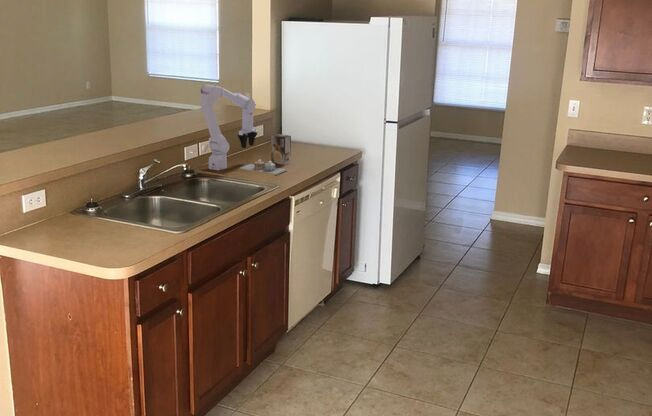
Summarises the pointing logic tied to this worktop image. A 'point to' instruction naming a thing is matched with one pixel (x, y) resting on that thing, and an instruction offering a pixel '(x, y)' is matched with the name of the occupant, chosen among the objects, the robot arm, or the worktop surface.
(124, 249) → the worktop surface
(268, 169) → the gear board
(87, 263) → the worktop surface
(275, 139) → the coffee box
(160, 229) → the worktop surface
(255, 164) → the loose gear
